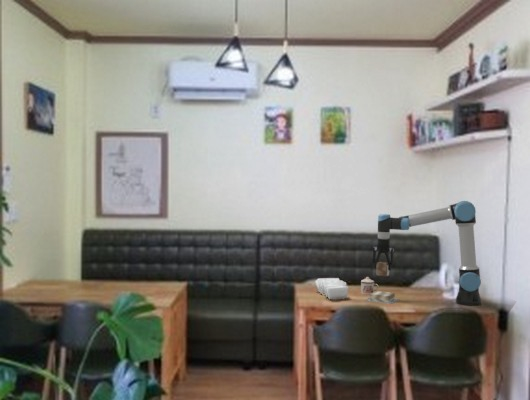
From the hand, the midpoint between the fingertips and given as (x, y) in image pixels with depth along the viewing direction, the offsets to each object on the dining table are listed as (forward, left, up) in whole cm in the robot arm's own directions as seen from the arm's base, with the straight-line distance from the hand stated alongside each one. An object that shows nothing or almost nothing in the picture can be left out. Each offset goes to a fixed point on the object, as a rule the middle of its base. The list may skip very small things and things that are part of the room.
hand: (382, 274), depth 351 cm
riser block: (0, 0, -16) cm, 16 cm away
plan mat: (0, 0, -17) cm, 17 cm away
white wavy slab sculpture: (+33, +5, -17) cm, 37 cm away
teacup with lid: (+14, -15, -17) cm, 27 cm away
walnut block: (0, 0, 0) cm, 0 cm away
